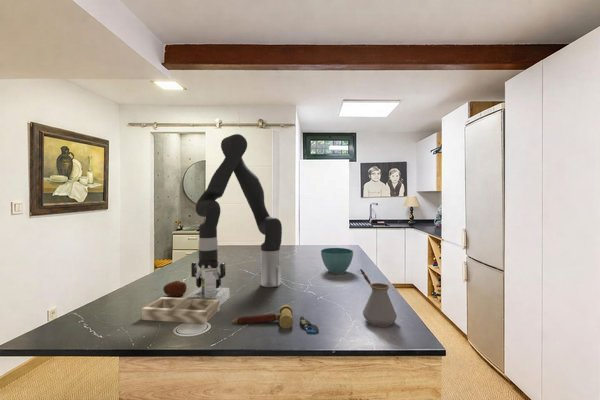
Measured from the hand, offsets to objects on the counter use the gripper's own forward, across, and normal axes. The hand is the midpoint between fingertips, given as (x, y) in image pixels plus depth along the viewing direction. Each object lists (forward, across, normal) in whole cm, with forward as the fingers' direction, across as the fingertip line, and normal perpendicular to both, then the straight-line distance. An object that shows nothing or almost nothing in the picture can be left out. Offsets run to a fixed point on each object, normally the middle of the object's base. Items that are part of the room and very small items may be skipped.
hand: (208, 287), depth 125 cm
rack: (+6, +4, +14) cm, 16 cm away
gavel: (+7, -27, +16) cm, 32 cm away
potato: (+6, +18, -5) cm, 20 cm away
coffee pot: (+6, -66, +6) cm, 67 cm away
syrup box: (+6, 0, 0) cm, 6 cm away
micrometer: (+7, -43, +17) cm, 47 cm away
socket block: (+6, 0, 0) cm, 6 cm away
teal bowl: (+6, -52, -54) cm, 75 cm away
